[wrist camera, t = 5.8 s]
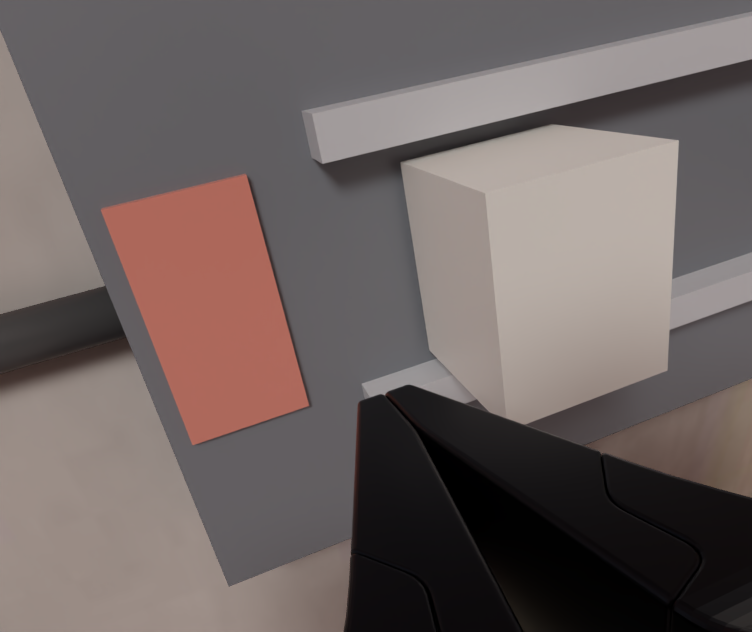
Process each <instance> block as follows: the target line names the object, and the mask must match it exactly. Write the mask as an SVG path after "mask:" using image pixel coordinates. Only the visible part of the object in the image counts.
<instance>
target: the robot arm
mask: <svg viewBox="0 0 752 632" xmlns="http://www.w3.org/2000/svg"><path fill="white" fill-rule="evenodd" d="M344 632H752V498H750V497H746V496H743V495H739V494H735V493H731V492H728V491H724V490H720V489H717V488H713V487H710V486H706V485H703V484H699V483H696V482H692V481H689V480H686V479H682V478H679V477H675V476H672V475H669V474H666V473H663V472H660V471H656V470H653V469H650V468H647V467H644V466H641V465H638V464H635V463H632V462H629V461H626V460H624V459H621V458H618V457H615V456H612V455H609V454H607V453H603V454H602V455H601V453H600V452H599V451H598V450H595V449H592V448H589V447H586V446H583V445H581V444H578V443H575V442H572V441H569V440H566V439H564V438H561V437H558V436H555V435H552V434H550V433H547V432H544V431H541V430H538V429H535V428H533V427H530V426H527V425H524V424H521V423H518V422H516V421H513V420H510V419H507V418H504V417H501V416H499V415H496V414H493V413H490V412H487V411H484V410H482V409H479V408H476V407H473V406H470V405H468V404H465V403H462V402H459V401H456V400H453V399H451V398H448V397H445V396H442V395H439V394H436V393H434V392H431V391H428V390H425V389H422V388H419V387H417V386H414V385H410V384H409V385H404V386H402V387H399V388H396V389H393V390H390V391H388V392H387V393H386V394H385V395H383V394H378V395H376V396H373V397H370V398H367V399H364V400H361V401H359V403H358V407H357V429H356V452H355V474H354V496H353V518H352V541H351V558H350V576H349V589H348V601H347V612H346V620H345V626H344Z"/></svg>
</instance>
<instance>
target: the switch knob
mask: <svg viewBox="0 0 752 632" xmlns="http://www.w3.org/2000/svg"><path fill="white" fill-rule="evenodd" d="M678 148H679V140H672V139H664V138H657V137H649V136H641V135H633V134H625V133H618V132H610V131H602V130H594V129H586V128H579V127H571V126H563V125H555V124H550V125H546V126H542V127H538V128H534V129H530V130H526V131H522V132H518V133H514V134H510V135H506V136H502V137H498V138H494V139H490V140H486V141H482V142H478V143H474V144H470V145H466V146H462V147H458V148H454V149H450V150H446V151H442V152H438V153H434V154H430V155H426V156H422V157H418V158H414V159H410V160H406V161H402V162H400V164H401V171H402V177H403V184H404V190H405V196H406V203H407V209H408V216H409V222H410V229H411V235H412V242H413V248H414V254H415V261H416V267H417V274H418V280H419V287H420V293H421V299H422V306H423V312H424V319H425V325H426V332H427V338H428V345H429V351H430V352H431V353H432V354H433V355H434V356H435V357H436V358H437V359H438V360H439V361H440V362H441V363H442V364H443V365H444V366H445V367H446V368H447V369H448V370H449V371H450V372H451V373H452V374H453V375H454V376H455V377H456V378H457V379H458V380H459V381H460V382H461V384H462V385H463V386H464V387H465V388H466V389H467V390H468V391H469V392H470V393H471V394H472V395H473V396H474V397H475V398H476V399H477V400H478V401H479V402H480V403H481V404H482V405H483V406H484V407H485V408H486V409H487V410H488V411H489V412H490V413H493V414H496V415H499V416H501V417H504V418H507V419H510V420H513V421H516V422H518V423H521V424H524V425H525V424H528V423H530V422H533V421H536V420H538V419H541V418H544V417H546V416H549V415H552V414H554V413H557V412H559V411H562V410H565V409H567V408H570V407H573V406H575V405H578V404H581V403H583V402H586V401H588V400H591V399H594V398H596V397H599V396H602V395H604V394H607V393H610V392H612V391H615V390H618V389H620V388H623V387H625V386H628V385H631V384H633V383H636V382H639V381H641V380H644V379H647V378H649V377H652V376H654V375H657V374H660V373H662V372H665V371H667V370H668V350H669V329H670V309H671V289H672V269H673V249H674V229H675V209H676V189H677V169H678Z"/></svg>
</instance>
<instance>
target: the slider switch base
mask: <svg viewBox="0 0 752 632" xmlns="http://www.w3.org/2000/svg"><path fill="white" fill-rule="evenodd" d="M0 30H1V33H2V35H3V37H4V40H5V42H6V45H7V47H8V50H9V52H10V54H11V57H12V59H13V62H14V64H15V67H16V69H17V72H18V74H19V76H20V79H21V81H22V84H23V86H24V89H25V91H26V93H27V96H28V98H29V101H30V103H31V106H32V108H33V111H34V113H35V115H36V118H37V120H38V123H39V125H40V128H41V130H42V132H43V135H44V137H45V140H46V142H47V145H48V147H49V149H50V152H51V154H52V157H53V159H54V162H55V164H56V167H57V169H58V171H59V174H60V176H61V179H62V181H63V184H64V186H65V188H66V191H67V193H68V196H69V198H70V201H71V203H72V206H73V208H74V210H75V213H76V215H77V218H78V220H79V223H80V225H81V227H82V230H83V232H84V235H85V237H86V240H87V242H88V244H89V247H90V249H91V252H92V254H93V257H94V259H95V262H96V264H97V266H98V269H99V271H100V274H101V276H102V279H103V281H104V283H105V286H104V287H100V288H96V289H92V290H89V291H85V292H81V293H78V294H74V295H70V296H66V297H63V298H59V299H55V300H52V301H48V302H44V303H40V304H37V305H33V306H29V307H26V308H22V309H18V310H14V311H11V312H7V313H3V314H0V374H1V373H4V372H8V371H11V370H15V369H18V368H21V367H25V366H28V365H32V364H35V363H39V362H42V361H46V360H49V359H52V358H56V357H59V356H63V355H66V354H70V353H73V352H77V351H80V350H83V349H87V348H90V347H94V346H97V345H101V344H104V343H108V342H111V341H114V340H118V339H121V338H125V337H127V340H128V342H129V344H130V347H131V349H132V352H133V354H134V357H135V359H136V361H137V364H138V366H139V369H140V371H141V374H142V376H143V378H144V381H145V383H146V386H147V388H148V391H149V393H150V396H151V398H152V400H153V403H154V405H155V408H156V410H157V413H158V415H159V417H160V420H161V422H162V425H163V427H164V430H165V432H166V435H167V437H168V439H169V442H170V444H171V447H172V449H173V452H174V454H175V456H176V459H177V461H178V464H179V466H180V469H181V471H182V473H183V476H184V478H185V481H186V483H187V486H188V488H189V491H190V493H191V495H192V498H193V500H194V503H195V505H196V508H197V510H198V512H199V515H200V517H201V520H202V522H203V525H204V527H205V530H206V532H207V534H208V537H209V539H210V542H211V544H212V547H213V549H214V551H215V554H216V556H217V559H218V561H219V564H220V566H221V569H222V571H223V573H224V576H225V578H226V581H227V583H228V586H232V585H234V584H237V583H239V582H242V581H244V580H247V579H249V578H252V577H254V576H257V575H259V574H262V573H264V572H267V571H269V570H272V569H274V568H277V567H279V566H282V565H284V564H287V563H289V562H292V561H294V560H297V559H299V558H302V557H304V556H307V555H310V554H312V553H315V552H317V551H320V550H322V549H325V548H327V547H330V546H332V545H335V544H337V543H340V542H342V541H345V540H347V539H350V538H352V518H353V496H354V474H355V452H356V429H357V407H358V403H359V401H361V400H364V399H367V398H370V397H373V396H376V395H378V394H383V395H385V394H386V393H387V392H388V391H390V390H393V389H396V388H399V387H402V386H404V385H409V384H410V385H414V386H417V387H419V388H422V389H425V390H428V391H431V392H434V393H436V394H439V395H442V396H445V397H448V398H451V399H453V400H456V401H459V402H462V403H465V404H468V405H470V406H473V407H476V408H479V409H482V410H484V411H487V412H489V411H488V410H487V409H486V408H485V407H484V406H483V405H482V404H481V403H480V402H479V401H478V400H477V399H476V398H475V397H474V396H473V395H472V394H471V393H470V392H469V391H468V390H467V389H466V388H465V387H464V386H463V385H462V384H461V382H460V381H459V380H458V379H457V378H456V377H455V376H454V375H453V374H452V373H451V372H450V371H449V370H448V369H447V368H446V367H445V366H444V365H443V364H442V363H441V362H440V361H439V360H438V359H437V358H436V357H435V356H434V355H433V354H432V353H431V352H430V351H429V345H428V338H427V332H426V325H425V319H424V312H423V306H422V299H421V293H420V287H419V280H418V274H417V267H416V261H415V254H414V248H413V242H412V235H411V229H410V222H409V216H408V209H407V203H406V196H405V190H404V184H403V177H402V171H401V164H400V162H402V161H406V160H410V159H414V158H418V157H422V156H426V155H430V154H434V153H438V152H442V151H446V150H450V149H454V148H458V147H462V146H466V145H470V144H474V143H478V142H482V141H486V140H490V139H494V138H498V137H502V136H506V135H510V134H514V133H518V132H522V131H526V130H530V129H534V128H538V127H542V126H546V125H550V124H555V125H563V126H571V127H579V128H586V129H594V130H602V131H610V132H618V133H625V134H633V135H641V136H649V137H657V138H664V139H672V140H679V148H678V169H677V189H676V209H675V229H674V249H673V269H672V289H671V309H670V329H669V350H668V370H667V371H665V372H662V373H660V374H657V375H654V376H652V377H649V378H647V379H644V380H641V381H639V382H636V383H633V384H631V385H628V386H625V387H623V388H620V389H618V390H615V391H612V392H610V393H607V394H604V395H602V396H599V397H596V398H594V399H591V400H588V401H586V402H583V403H581V404H578V405H575V406H573V407H570V408H567V409H565V410H562V411H559V412H557V413H554V414H552V415H549V416H546V417H544V418H541V419H538V420H536V421H533V422H530V423H528V424H525V425H527V426H530V427H533V428H535V429H538V430H541V431H544V432H547V433H550V434H552V435H555V436H558V437H561V438H564V439H566V440H569V441H572V442H575V443H578V444H581V445H586V444H588V443H591V442H593V441H596V440H598V439H601V438H603V437H606V436H608V435H611V434H614V433H616V432H619V431H621V430H624V429H626V428H629V427H631V426H634V425H636V424H639V423H641V422H644V421H646V420H649V419H651V418H654V417H656V416H659V415H661V414H664V413H666V412H669V411H671V410H674V409H676V408H679V407H681V406H684V405H686V404H689V403H691V402H694V401H696V400H699V399H701V398H704V397H706V396H709V395H711V394H714V393H717V392H719V391H722V390H724V389H727V388H729V387H732V386H734V385H737V384H739V383H742V382H744V381H747V380H749V379H752V0H0Z"/></svg>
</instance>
